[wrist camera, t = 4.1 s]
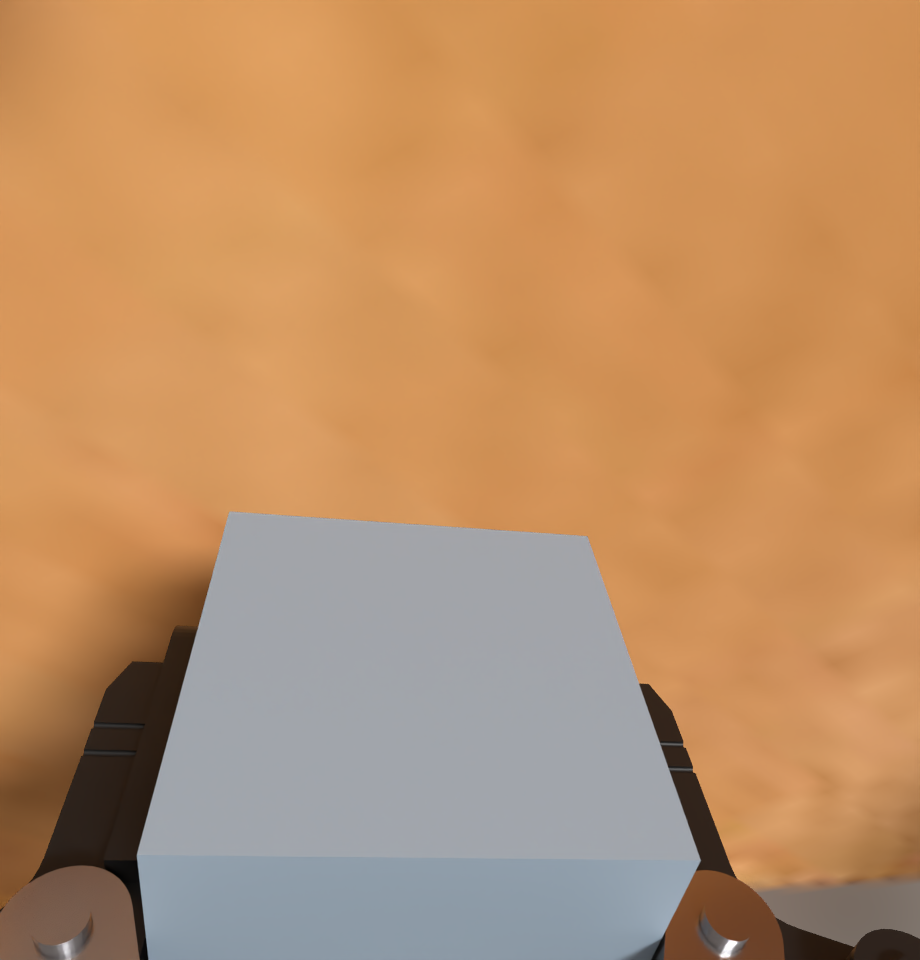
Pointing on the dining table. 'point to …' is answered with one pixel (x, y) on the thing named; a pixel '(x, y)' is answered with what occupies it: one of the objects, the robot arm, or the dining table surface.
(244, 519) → the blue brick
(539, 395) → the dining table surface
